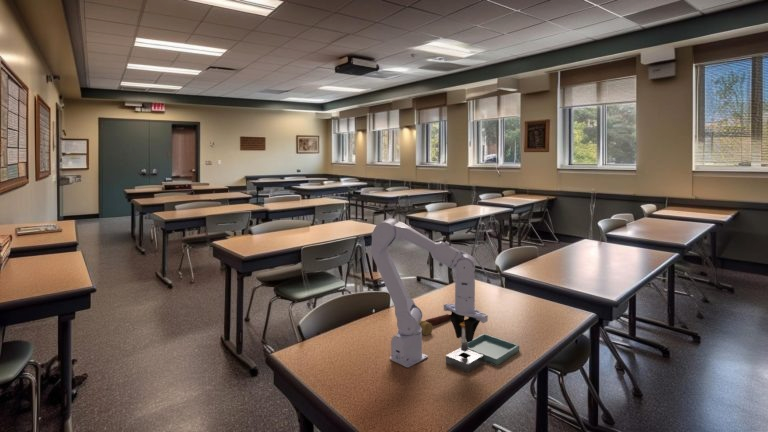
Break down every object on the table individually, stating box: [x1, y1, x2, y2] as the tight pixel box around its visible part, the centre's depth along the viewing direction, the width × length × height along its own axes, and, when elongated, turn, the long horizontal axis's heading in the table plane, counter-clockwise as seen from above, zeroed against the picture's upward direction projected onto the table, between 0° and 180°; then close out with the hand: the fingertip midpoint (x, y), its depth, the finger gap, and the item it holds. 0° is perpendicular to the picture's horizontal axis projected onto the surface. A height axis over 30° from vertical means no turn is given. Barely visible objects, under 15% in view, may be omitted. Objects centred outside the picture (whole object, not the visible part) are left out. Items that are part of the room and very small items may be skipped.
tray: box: [459, 333, 520, 367], centre depth 132 cm, size 13×13×2 cm
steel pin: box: [459, 319, 468, 351], centre depth 123 cm, size 3×3×9 cm
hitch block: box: [445, 347, 485, 373], centre depth 124 cm, size 8×8×2 cm
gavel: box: [419, 313, 451, 336], centre depth 154 cm, size 21×5×10 cm
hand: (464, 338), depth 123 cm, fingers closed on steel pin, 3 cm apart
